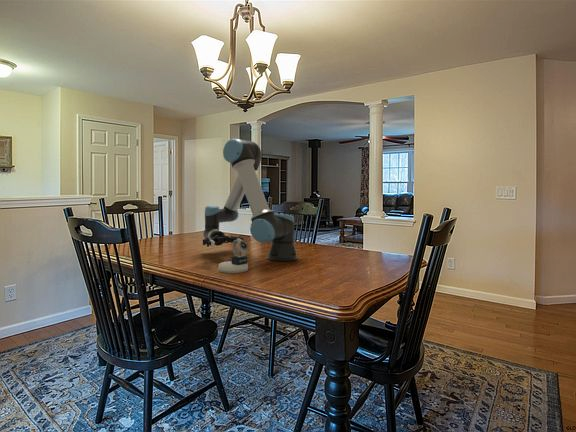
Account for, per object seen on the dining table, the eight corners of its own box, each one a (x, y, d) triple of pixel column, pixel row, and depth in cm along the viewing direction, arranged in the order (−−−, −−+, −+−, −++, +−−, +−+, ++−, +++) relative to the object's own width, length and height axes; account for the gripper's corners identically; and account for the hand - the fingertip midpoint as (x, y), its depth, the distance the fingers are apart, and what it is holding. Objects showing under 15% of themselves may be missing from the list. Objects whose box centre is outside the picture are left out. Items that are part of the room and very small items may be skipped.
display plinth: (246, 266, 171) (246, 260, 171) (248, 272, 158) (248, 267, 158) (218, 266, 169) (218, 261, 169) (218, 273, 156) (218, 267, 156)
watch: (240, 266, 160) (240, 241, 159) (229, 263, 165) (229, 239, 164) (250, 264, 164) (250, 239, 163) (238, 261, 170) (238, 238, 169)
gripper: (239, 243, 194) (253, 250, 175) (192, 246, 184) (201, 253, 165) (239, 229, 194) (253, 234, 175) (192, 231, 183) (201, 237, 164)
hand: (228, 243), depth 170 cm, fingers open, 13 cm apart
